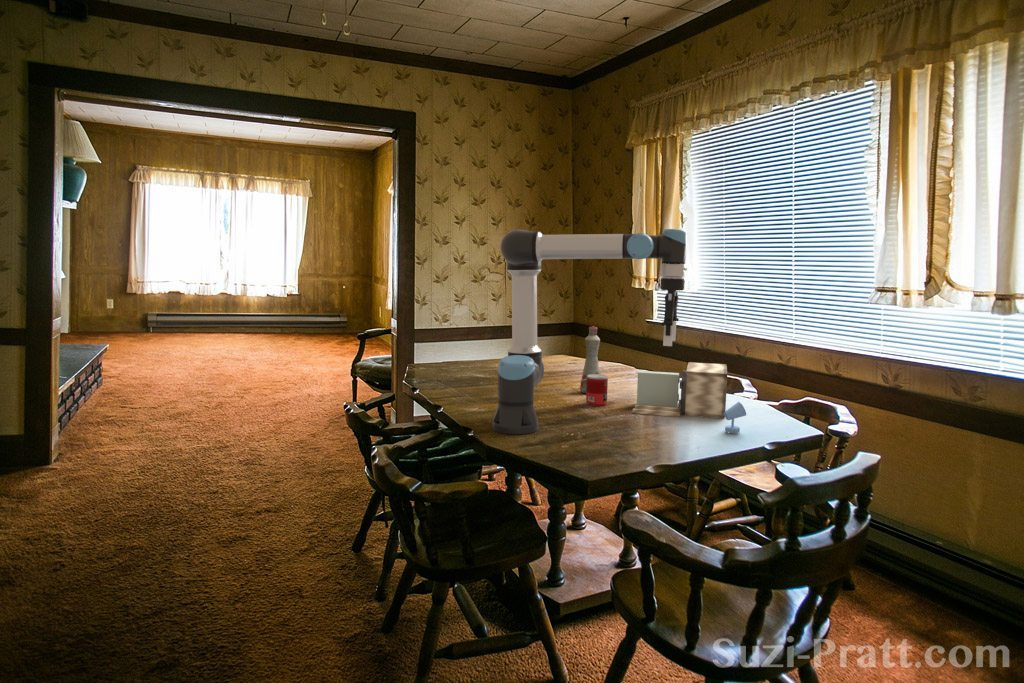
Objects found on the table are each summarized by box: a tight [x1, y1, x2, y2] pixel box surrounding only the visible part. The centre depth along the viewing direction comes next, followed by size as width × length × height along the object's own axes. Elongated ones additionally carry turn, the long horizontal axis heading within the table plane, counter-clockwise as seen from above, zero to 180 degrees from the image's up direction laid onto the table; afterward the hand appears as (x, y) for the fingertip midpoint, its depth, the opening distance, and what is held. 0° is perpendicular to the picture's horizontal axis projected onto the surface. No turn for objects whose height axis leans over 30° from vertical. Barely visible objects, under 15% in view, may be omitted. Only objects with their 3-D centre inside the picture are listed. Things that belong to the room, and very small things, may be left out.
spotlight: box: [724, 401, 747, 434], centre depth 215 cm, size 5×10×7 cm
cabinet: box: [632, 361, 728, 419], centre depth 246 cm, size 32×25×16 cm
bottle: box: [579, 325, 601, 395], centre depth 273 cm, size 9×9×28 cm
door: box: [636, 370, 681, 408], centre depth 251 cm, size 15×4×13 cm, turn 73°
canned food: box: [585, 374, 609, 407], centre depth 253 cm, size 8×8×11 cm
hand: (669, 343), depth 215 cm, fingers open, 13 cm apart
